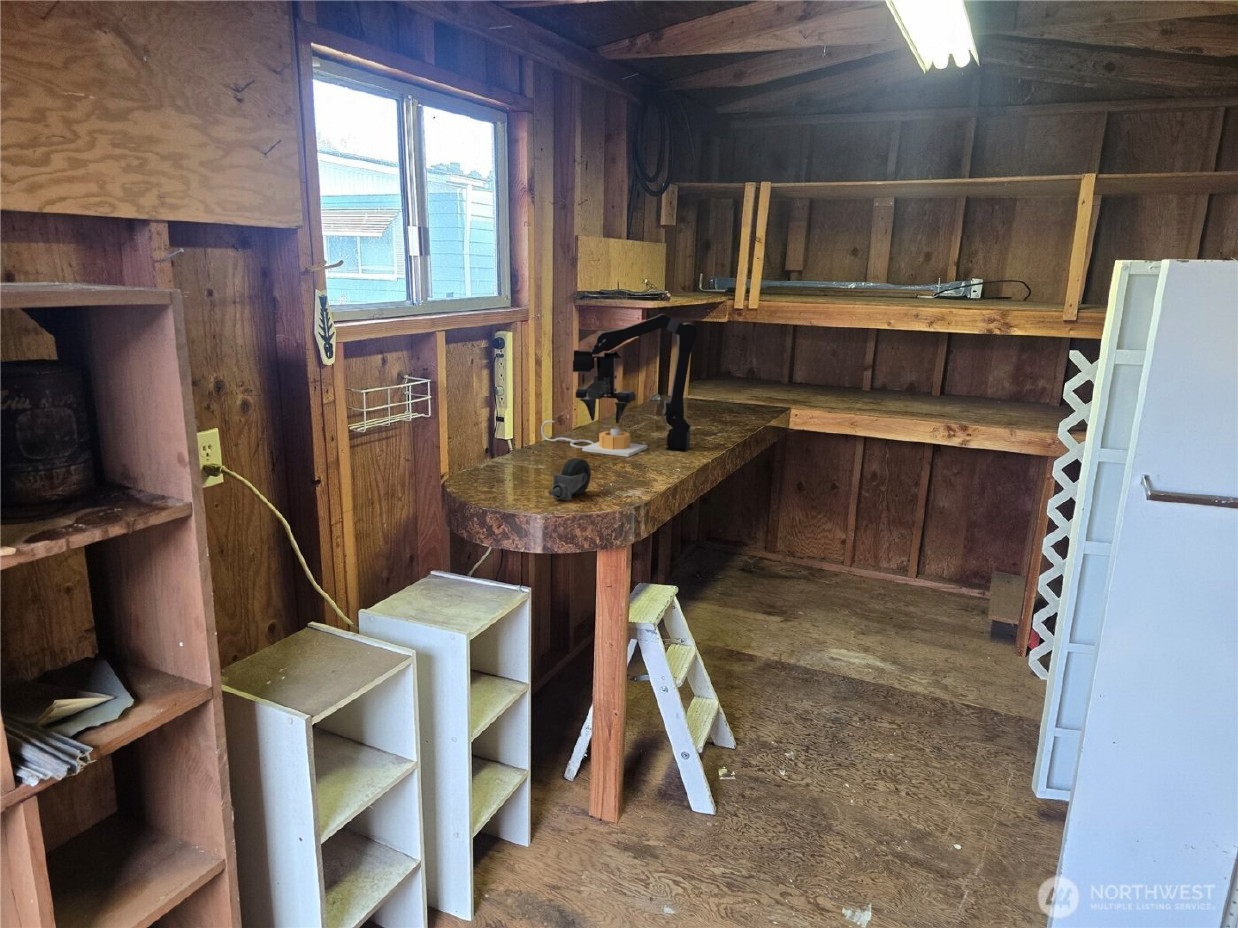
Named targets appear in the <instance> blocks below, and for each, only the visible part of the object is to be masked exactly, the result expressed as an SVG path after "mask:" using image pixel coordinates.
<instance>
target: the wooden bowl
mask: <svg viewBox="0 0 1238 928" xmlns="http://www.w3.org/2000/svg"><path fill="white" fill-rule="evenodd" d="M598 436H599V437H598V440H599V441H598V442H599V446H600V447H601V448H604V449H614V450H615V449H626V448H628V447H630V443H631V433H629V432H627V431H621V430H620V436H611V430H609V431H608V430H607V431H602V432H599V433H598Z"/></svg>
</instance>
